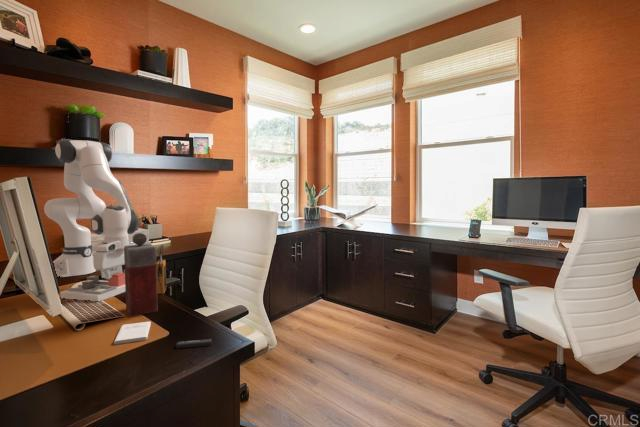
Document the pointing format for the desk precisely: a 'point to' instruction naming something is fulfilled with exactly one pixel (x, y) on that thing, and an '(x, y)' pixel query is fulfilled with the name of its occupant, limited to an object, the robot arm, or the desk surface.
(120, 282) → the lockout cap
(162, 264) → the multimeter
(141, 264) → the decanter
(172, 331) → the desk surface
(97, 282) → the plain toggle
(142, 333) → the external hard drive
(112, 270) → the electrical switch
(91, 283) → the tagged toggle
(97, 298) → the panel
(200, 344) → the usb stick
